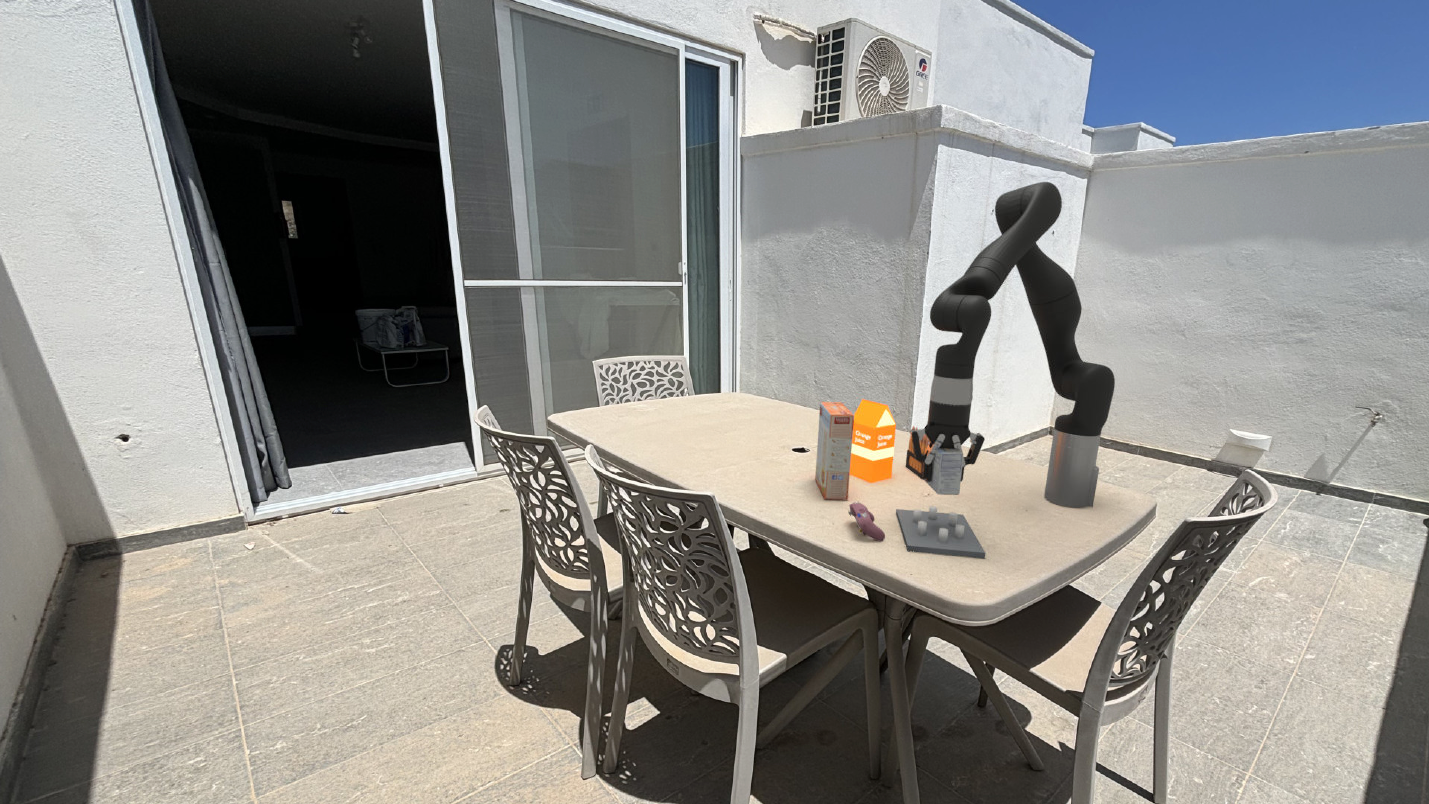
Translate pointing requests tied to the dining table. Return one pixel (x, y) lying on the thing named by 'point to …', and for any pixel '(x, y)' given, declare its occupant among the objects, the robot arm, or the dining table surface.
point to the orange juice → (872, 442)
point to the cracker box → (834, 450)
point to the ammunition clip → (910, 459)
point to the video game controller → (866, 521)
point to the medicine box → (946, 471)
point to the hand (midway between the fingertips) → (941, 481)
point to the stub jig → (938, 533)
